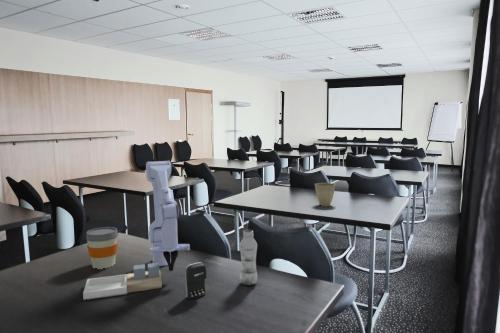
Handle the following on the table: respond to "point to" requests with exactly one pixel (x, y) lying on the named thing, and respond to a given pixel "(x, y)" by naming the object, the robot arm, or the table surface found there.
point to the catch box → (105, 286)
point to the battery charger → (195, 280)
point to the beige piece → (143, 283)
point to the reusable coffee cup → (102, 246)
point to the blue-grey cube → (153, 270)
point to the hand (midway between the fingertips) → (170, 270)
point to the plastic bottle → (248, 258)
